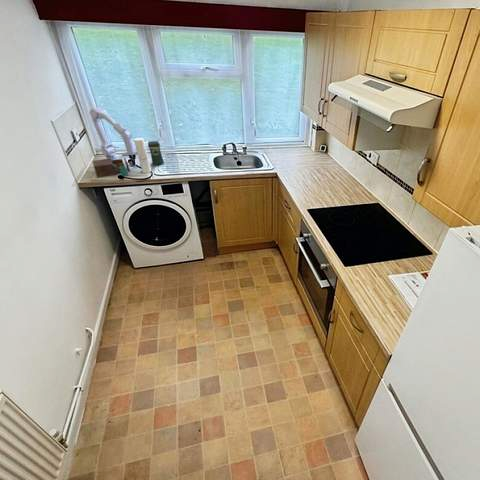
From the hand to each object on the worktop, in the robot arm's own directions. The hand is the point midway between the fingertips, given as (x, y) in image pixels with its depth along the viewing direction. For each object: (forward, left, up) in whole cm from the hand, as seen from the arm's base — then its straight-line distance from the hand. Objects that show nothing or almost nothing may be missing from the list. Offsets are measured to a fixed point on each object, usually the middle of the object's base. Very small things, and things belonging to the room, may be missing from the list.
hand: (134, 164), depth 246 cm
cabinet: (+16, -16, -4) cm, 23 cm away
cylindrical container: (+1, +12, -4) cm, 13 cm away
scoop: (+16, -1, -4) cm, 17 cm away
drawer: (+7, -7, -3) cm, 10 cm away
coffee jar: (-18, +10, -4) cm, 21 cm away
